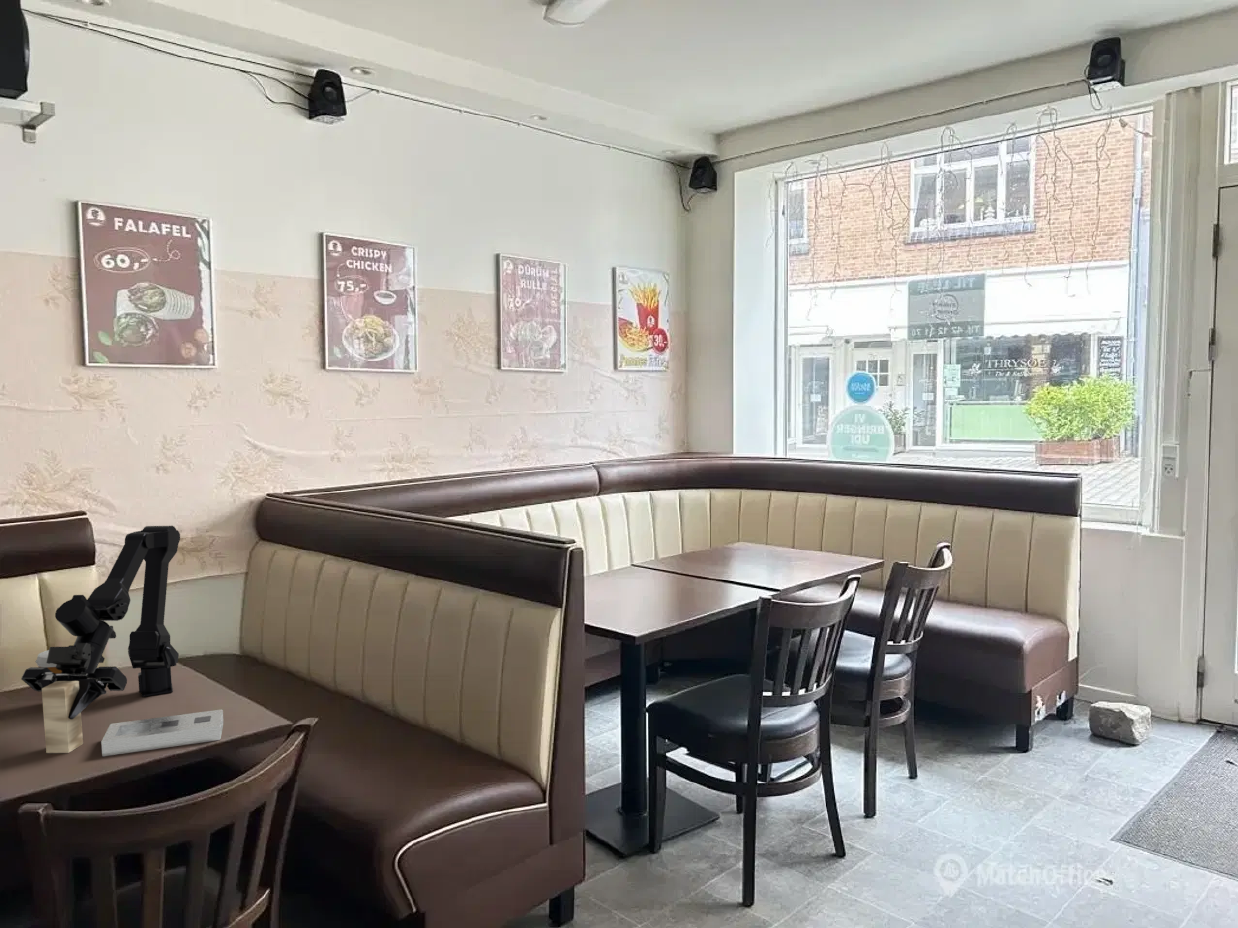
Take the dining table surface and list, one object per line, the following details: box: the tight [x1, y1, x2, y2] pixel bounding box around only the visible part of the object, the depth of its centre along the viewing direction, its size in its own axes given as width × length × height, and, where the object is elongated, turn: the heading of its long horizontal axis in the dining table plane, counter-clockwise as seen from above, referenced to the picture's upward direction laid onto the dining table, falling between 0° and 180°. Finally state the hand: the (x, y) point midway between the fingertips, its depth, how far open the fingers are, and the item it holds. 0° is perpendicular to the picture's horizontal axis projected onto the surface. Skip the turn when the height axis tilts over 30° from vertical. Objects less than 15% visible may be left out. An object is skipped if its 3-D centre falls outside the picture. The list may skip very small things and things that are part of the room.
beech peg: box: [41, 681, 84, 754], centre depth 176 cm, size 4×4×13 cm
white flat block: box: [100, 709, 224, 757], centre depth 181 cm, size 21×10×3 cm, turn 111°
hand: (58, 718), depth 175 cm, fingers closed on beech peg, 4 cm apart
